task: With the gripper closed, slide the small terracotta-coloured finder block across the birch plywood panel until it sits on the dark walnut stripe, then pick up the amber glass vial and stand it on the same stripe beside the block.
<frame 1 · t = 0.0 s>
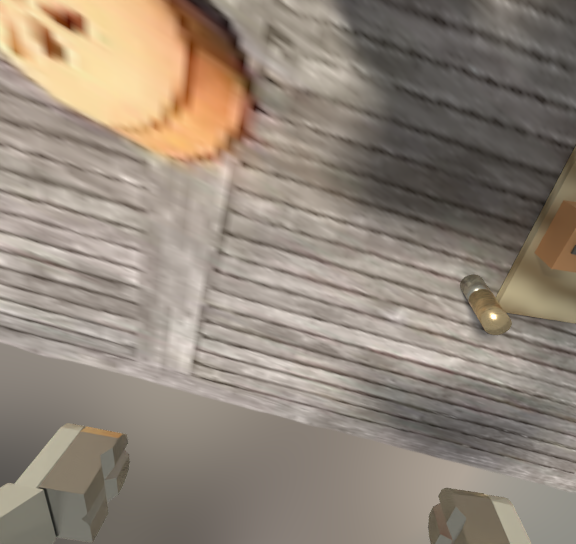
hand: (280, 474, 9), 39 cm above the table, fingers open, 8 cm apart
amber glass vial: (471, 283, 49), on the table
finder: (569, 230, 43), point 1 cm above the table, touching panel
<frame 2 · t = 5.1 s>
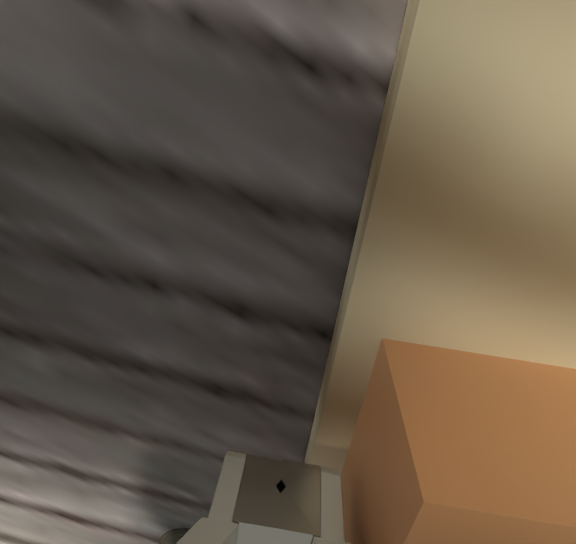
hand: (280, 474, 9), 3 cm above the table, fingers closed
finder: (438, 450, 10), point 1 cm above the table, touching gripper, panel
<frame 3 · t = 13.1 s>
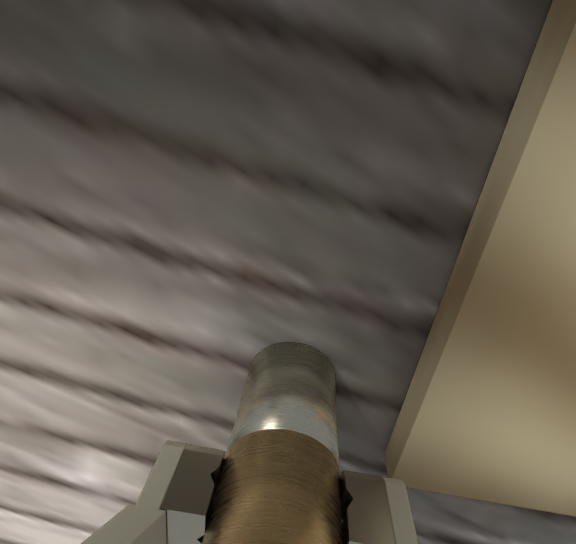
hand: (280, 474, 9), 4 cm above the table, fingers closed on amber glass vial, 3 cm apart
amber glass vial: (292, 377, 12), on the table, touching gripper
when the fingers open (6 cm above the table, at t = 18.5 s): amber glass vial stays where it is, resting on panel.
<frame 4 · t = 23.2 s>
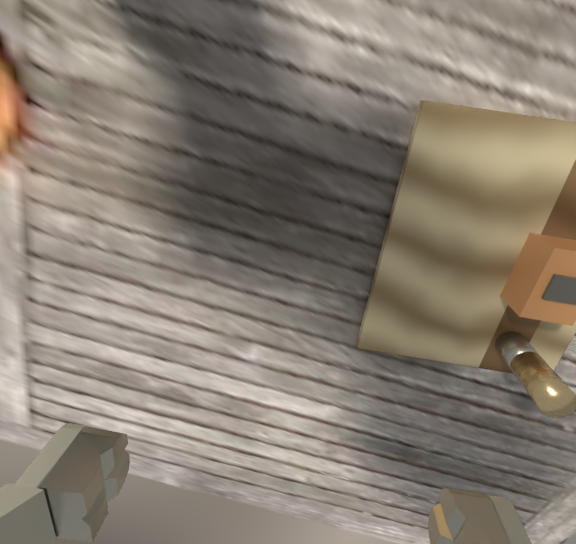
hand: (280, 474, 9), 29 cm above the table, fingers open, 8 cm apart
amber glass vial: (509, 342, 39), point 1 cm above the table, touching panel
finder: (539, 269, 35), point 1 cm above the table, touching panel
panel: (490, 256, 36), on the table
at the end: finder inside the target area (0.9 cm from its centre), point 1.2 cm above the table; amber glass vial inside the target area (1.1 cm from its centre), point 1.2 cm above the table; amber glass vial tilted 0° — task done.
